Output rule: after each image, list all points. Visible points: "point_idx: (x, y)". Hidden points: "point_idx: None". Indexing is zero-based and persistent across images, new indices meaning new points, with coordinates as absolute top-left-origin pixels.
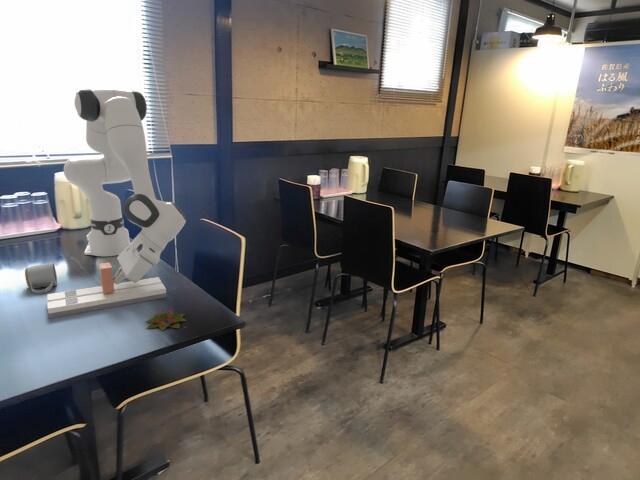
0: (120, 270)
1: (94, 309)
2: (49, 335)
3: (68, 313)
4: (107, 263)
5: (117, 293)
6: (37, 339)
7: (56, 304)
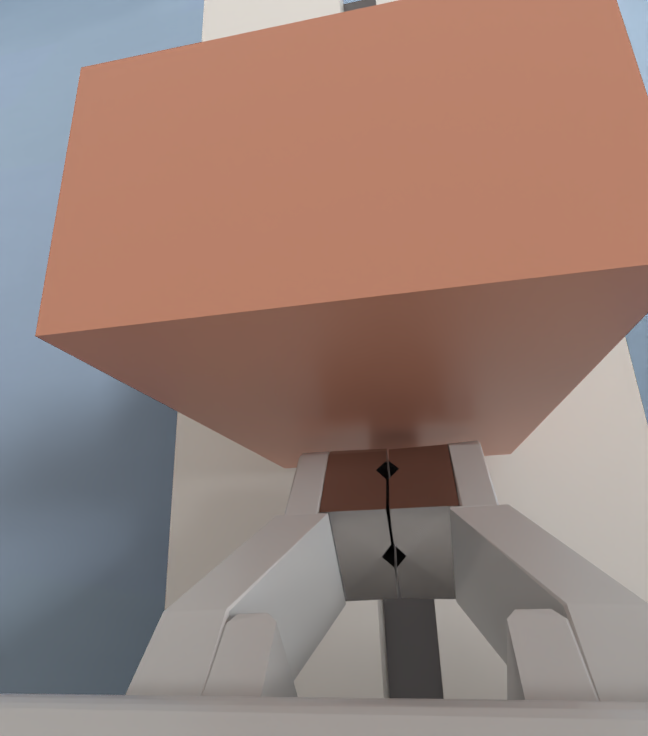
0: (513, 634)
1: None
2: (12, 110)
3: None
4: (539, 186)
5: (275, 504)
6: (4, 70)
7: (256, 23)
